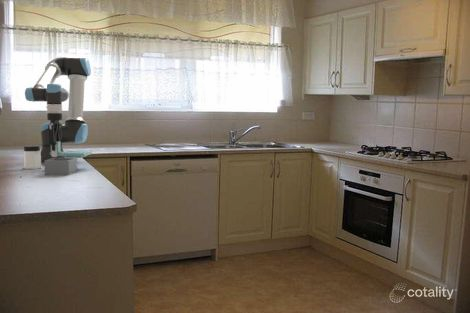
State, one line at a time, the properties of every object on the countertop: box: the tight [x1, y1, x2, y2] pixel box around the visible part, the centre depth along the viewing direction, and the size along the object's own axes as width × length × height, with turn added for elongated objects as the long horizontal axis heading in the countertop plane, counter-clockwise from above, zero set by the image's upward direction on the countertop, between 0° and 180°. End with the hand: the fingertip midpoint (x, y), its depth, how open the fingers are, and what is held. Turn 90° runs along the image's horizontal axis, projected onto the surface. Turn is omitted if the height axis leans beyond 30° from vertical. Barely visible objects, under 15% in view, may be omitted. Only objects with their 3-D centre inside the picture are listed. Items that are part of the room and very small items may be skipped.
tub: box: [43, 158, 78, 176], centre depth 252 cm, size 12×12×7 cm
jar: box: [22, 144, 42, 170], centre depth 269 cm, size 9×8×12 cm
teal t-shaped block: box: [50, 142, 93, 159], centre depth 268 cm, size 13×20×8 cm, turn 89°
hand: (55, 156), depth 269 cm, fingers closed on teal t-shaped block, 3 cm apart
